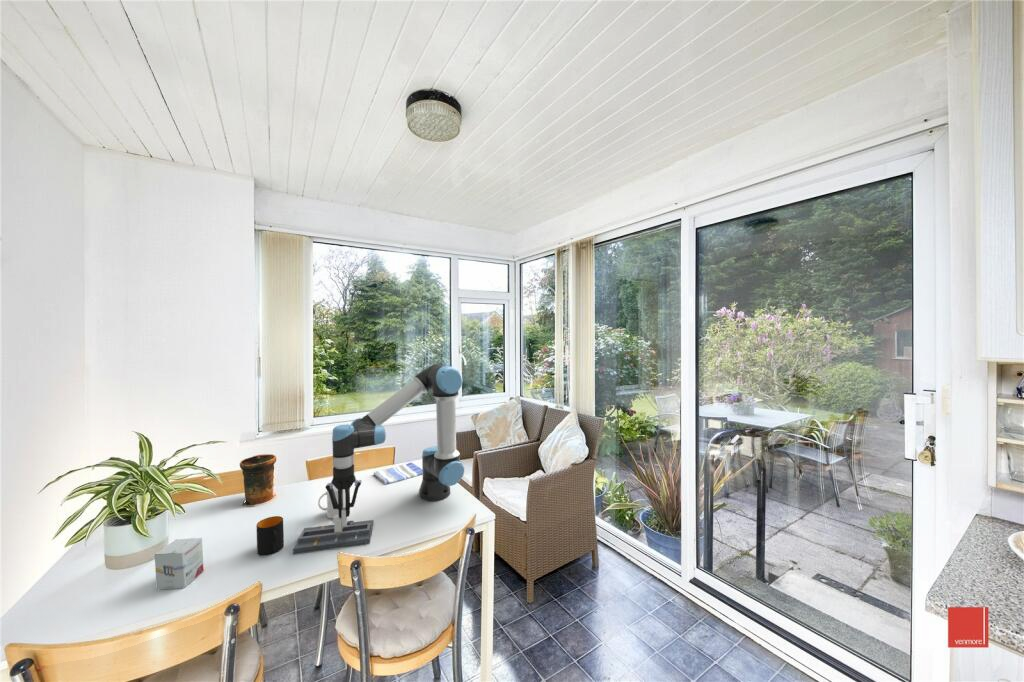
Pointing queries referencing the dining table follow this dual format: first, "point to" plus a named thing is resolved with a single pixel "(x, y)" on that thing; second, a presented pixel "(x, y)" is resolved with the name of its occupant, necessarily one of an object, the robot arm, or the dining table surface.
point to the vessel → (258, 479)
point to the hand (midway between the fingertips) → (344, 524)
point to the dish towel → (398, 473)
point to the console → (334, 537)
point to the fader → (337, 524)
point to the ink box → (178, 563)
